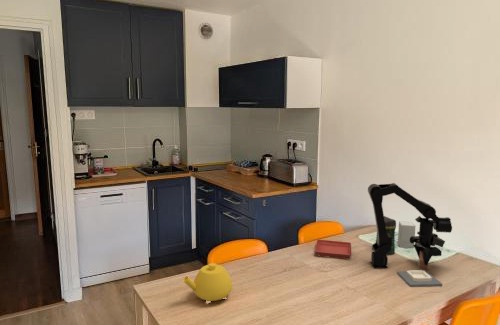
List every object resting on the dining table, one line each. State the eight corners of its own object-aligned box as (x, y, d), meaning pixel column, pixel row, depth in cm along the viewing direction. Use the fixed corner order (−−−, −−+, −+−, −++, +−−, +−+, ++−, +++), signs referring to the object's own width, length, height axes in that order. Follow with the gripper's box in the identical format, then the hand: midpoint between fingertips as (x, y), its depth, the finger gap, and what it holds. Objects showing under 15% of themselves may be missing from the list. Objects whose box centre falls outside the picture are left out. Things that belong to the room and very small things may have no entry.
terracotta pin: (421, 270, 178) (422, 253, 177) (417, 266, 182) (418, 250, 181) (429, 269, 178) (430, 253, 177) (425, 266, 182) (426, 250, 181)
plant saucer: (350, 247, 206) (351, 242, 206) (351, 261, 189) (352, 254, 189) (316, 245, 211) (317, 239, 210) (314, 257, 193) (315, 251, 193)
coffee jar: (397, 253, 197) (399, 219, 194) (385, 256, 194) (387, 220, 191) (384, 247, 206) (386, 214, 203) (372, 249, 203) (374, 215, 200)
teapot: (190, 313, 141) (189, 278, 139) (177, 295, 154) (176, 263, 152) (238, 300, 150) (238, 267, 148) (222, 284, 164) (222, 253, 162)
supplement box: (414, 248, 205) (415, 225, 203) (399, 247, 206) (401, 225, 204) (411, 243, 212) (412, 221, 210) (397, 242, 213) (398, 220, 211)
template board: (410, 286, 161) (410, 281, 161) (396, 273, 174) (397, 268, 174) (442, 286, 162) (442, 280, 162) (426, 272, 175) (427, 267, 175)
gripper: (454, 237, 168) (451, 271, 171) (432, 224, 187) (430, 255, 189) (429, 238, 168) (427, 271, 170) (410, 225, 186) (408, 255, 189)
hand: (423, 263), depth 180 cm, fingers closed on terracotta pin, 4 cm apart
